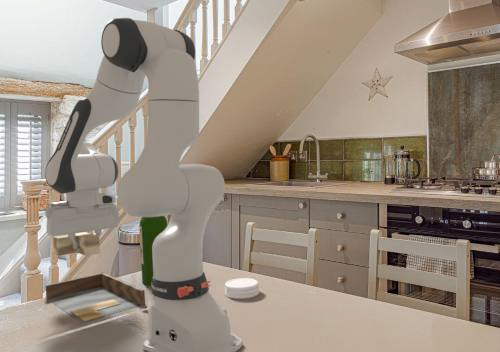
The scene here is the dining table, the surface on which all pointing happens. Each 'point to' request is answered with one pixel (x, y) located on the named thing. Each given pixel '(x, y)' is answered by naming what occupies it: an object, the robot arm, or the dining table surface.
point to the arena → (94, 296)
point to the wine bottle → (149, 243)
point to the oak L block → (87, 241)
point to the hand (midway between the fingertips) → (86, 247)
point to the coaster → (242, 288)
